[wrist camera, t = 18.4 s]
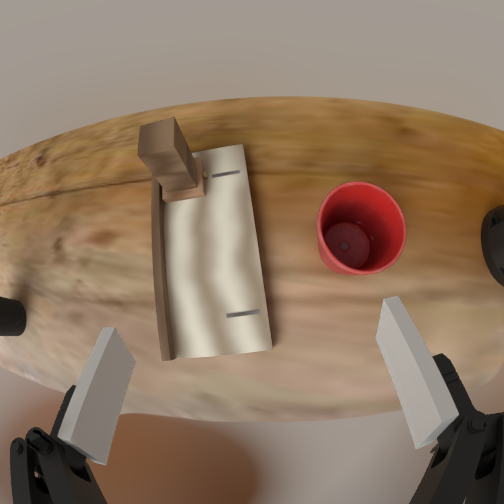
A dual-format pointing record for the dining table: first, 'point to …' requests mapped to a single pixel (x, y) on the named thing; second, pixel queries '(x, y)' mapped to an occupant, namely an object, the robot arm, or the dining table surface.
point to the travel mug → (11, 317)
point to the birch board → (209, 265)
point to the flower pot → (360, 229)
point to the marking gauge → (171, 161)
